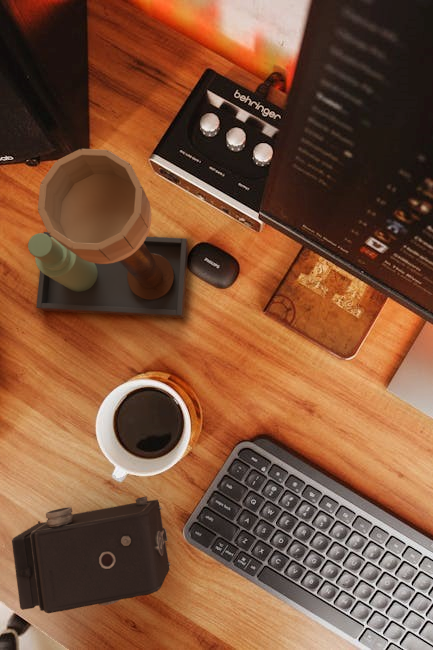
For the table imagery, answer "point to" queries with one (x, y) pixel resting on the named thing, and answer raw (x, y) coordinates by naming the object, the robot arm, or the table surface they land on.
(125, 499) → the table surface
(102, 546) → the camera
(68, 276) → the bottle
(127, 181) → the goblet
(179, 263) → the tray
